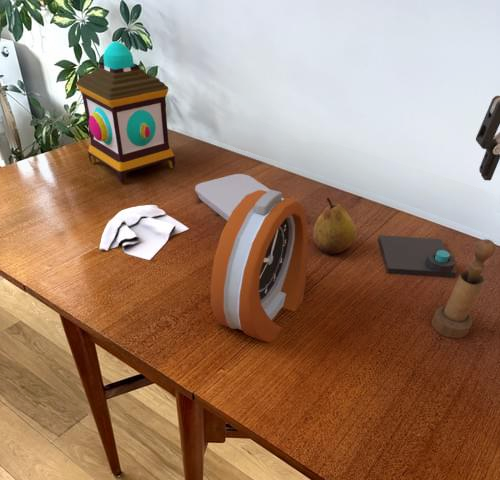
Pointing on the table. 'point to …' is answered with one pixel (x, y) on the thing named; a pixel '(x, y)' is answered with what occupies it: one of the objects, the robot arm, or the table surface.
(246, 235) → the alarm clock
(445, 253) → the button
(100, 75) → the decorative lantern
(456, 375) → the table surface
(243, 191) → the tablet
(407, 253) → the kitchen scale
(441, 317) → the mortar and pestle
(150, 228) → the cloth
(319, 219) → the fruit
